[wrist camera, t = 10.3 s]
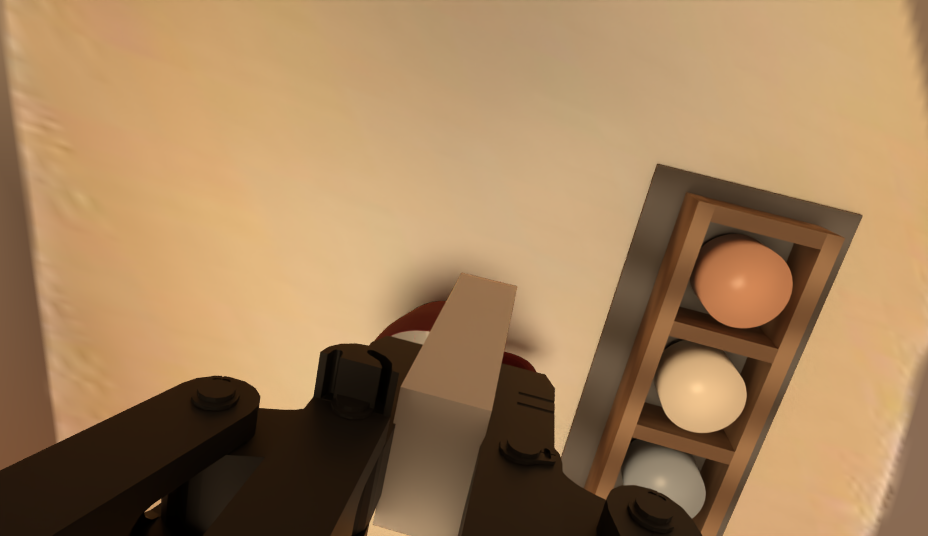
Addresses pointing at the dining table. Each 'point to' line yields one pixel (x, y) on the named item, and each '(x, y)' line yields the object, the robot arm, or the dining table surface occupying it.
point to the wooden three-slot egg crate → (700, 332)
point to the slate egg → (665, 473)
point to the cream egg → (699, 387)
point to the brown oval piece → (741, 281)
